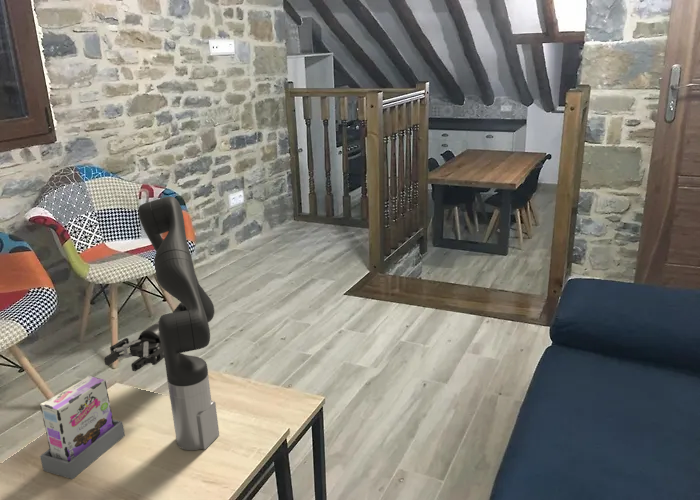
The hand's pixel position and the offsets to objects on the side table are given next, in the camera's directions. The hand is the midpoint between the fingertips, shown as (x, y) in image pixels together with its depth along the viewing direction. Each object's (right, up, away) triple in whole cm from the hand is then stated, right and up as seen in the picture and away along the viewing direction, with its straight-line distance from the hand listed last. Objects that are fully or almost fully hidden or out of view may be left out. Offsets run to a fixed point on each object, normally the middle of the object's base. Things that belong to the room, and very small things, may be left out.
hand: (119, 365), depth 148 cm
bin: (-5, -19, -8) cm, 21 cm away
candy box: (-5, -19, -8) cm, 21 cm away
